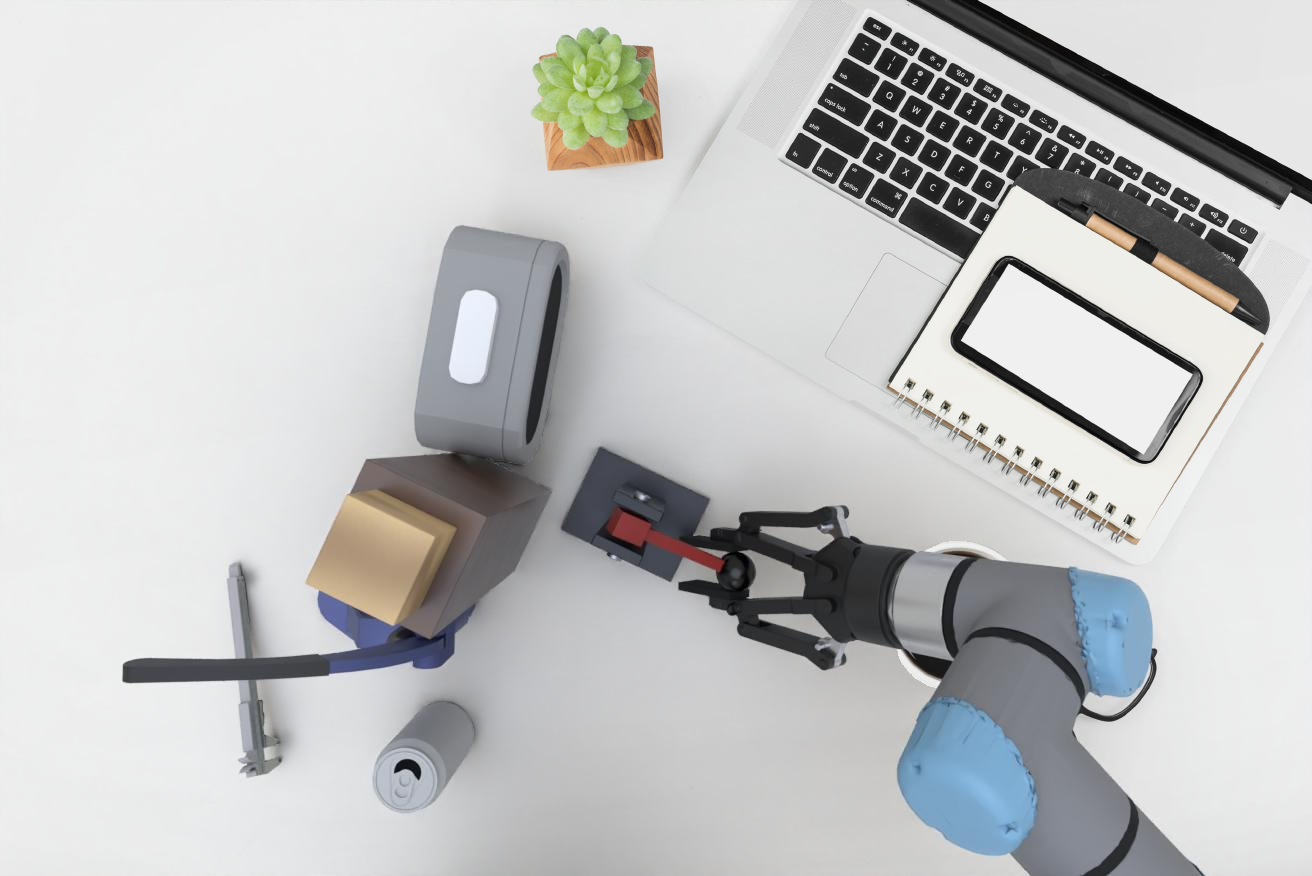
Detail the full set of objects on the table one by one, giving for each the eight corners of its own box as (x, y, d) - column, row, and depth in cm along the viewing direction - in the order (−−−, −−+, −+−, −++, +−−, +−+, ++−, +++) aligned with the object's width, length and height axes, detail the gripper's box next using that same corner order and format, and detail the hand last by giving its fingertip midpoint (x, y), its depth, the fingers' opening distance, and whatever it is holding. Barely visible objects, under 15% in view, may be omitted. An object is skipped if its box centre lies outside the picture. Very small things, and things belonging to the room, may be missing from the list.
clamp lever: (753, 555, 76) (769, 566, 73) (736, 590, 76) (751, 603, 73) (618, 496, 72) (628, 505, 68) (600, 533, 72) (609, 544, 68)
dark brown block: (514, 571, 83) (430, 639, 55) (433, 532, 83) (308, 581, 55) (552, 490, 83) (488, 517, 55) (471, 451, 83) (366, 458, 55)
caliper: (285, 760, 83) (253, 786, 77) (275, 762, 83) (242, 788, 77) (241, 562, 83) (205, 572, 77) (230, 564, 83) (194, 575, 77)
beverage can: (483, 709, 83) (450, 755, 71) (466, 770, 83) (430, 827, 71) (422, 691, 83) (379, 734, 71) (405, 753, 83) (359, 806, 71)
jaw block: (419, 609, 55) (393, 626, 50) (338, 570, 55) (304, 583, 50) (457, 527, 55) (435, 536, 50) (376, 488, 55) (346, 493, 50)
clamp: (491, 557, 83) (396, 619, 55) (489, 645, 83) (392, 751, 55) (305, 551, 83) (117, 608, 55) (303, 637, 83) (113, 739, 55)
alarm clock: (540, 464, 83) (513, 469, 69) (447, 446, 83) (402, 448, 69) (576, 261, 82) (556, 226, 69) (483, 244, 83) (445, 207, 69)
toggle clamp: (709, 498, 82) (715, 510, 68) (670, 580, 82) (669, 608, 68) (600, 446, 82) (585, 448, 69) (562, 528, 83) (538, 546, 69)
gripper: (934, 701, 65) (713, 643, 82) (939, 488, 65) (716, 474, 82) (883, 722, 59) (658, 655, 76) (887, 490, 59) (662, 475, 76)
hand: (688, 562), depth 79 cm, fingers closed on clamp lever, 4 cm apart
